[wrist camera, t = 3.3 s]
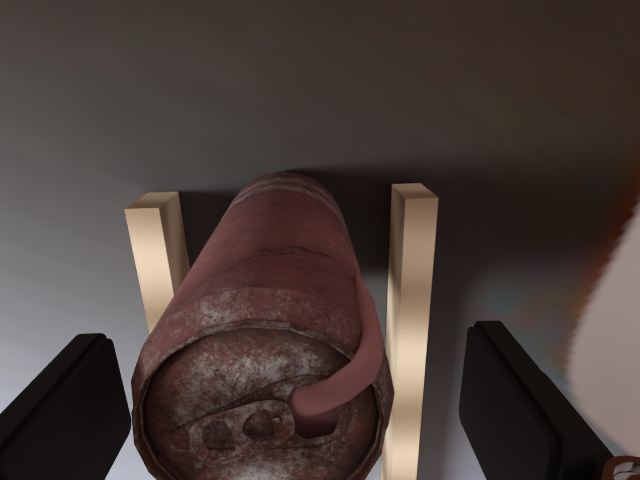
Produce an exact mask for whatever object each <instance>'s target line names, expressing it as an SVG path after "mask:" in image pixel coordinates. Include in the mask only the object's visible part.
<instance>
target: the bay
mask: <svg viewBox="0 0 640 480" xmlns="http://www.w3.org/2000/svg"><path fill="white" fill-rule="evenodd" d="M437 211H438V197H437V196H436V195H435V194H433V193H432V192H431V191H430V190H428V189H427V188H426V187H425V186H423V185H422V184H421V183H409V184H392V193H391V220H390V247H389V275H388V302H387V329H386V355H387V358H388V361H389V366H390V371H391V376H392V381H393V386H394V391H395V395H394V400H393V405H392V410H391V415H390V421H389V425H388V428H387V430H386V433H385V438H384V444H383V449H382V465H381V480H416V476H417V464H418V451H419V438H420V426H421V413H422V400H423V388H424V375H425V362H426V350H427V337H428V324H429V312H430V299H431V286H432V274H433V261H434V248H435V236H436V223H437ZM125 214H126V219H127V224H128V229H129V234H130V239H131V244H132V249H133V253H134V258H135V263H136V268H137V273H138V278H139V283H140V288H141V293H142V298H143V302H144V307H145V312H146V317H147V322H148V327H149V332H150V334H151V332H152V331H153V329H154V327H155V326H156V324H157V322H158V321H159V319H160V318H161V316H162V314H163V313H164V311H165V309H166V308H167V306H168V305H169V303H170V301H171V300H172V298H173V297H174V295H175V293H176V292H177V290H178V288H179V287H180V285H181V284H182V282H183V280H184V279H185V277H186V276H187V274H188V272H189V271H190V265H189V259H188V252H187V246H186V239H185V233H184V226H183V220H182V213H181V206H180V200H179V193H178V192H151V193H147V194H146V195H144V196H143V197H141V198H140V199H138V200H137V201H136V202H134V203H133V204H131V205H130V206H128V207H127V208H125Z"/></svg>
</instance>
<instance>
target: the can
mask: <svg viewBox="0 0 640 480" xmlns="http://www.w3.org/2000/svg"><path fill="white" fill-rule="evenodd" d="M131 386H132V398H133V410H132V425H133V436H134V445H135V447H136V448H137V450H138V452H139V454H140V456H141V458H142V460H143V462H144V464H145V466H146V468H147V470H148V472H149V473H150V474H151V475H152V476H153V477H154V478H155V479H156V480H365V479H366V477H367V476H368V474H369V472H370V471H371V469H372V468H373V466H374V464H375V463H376V461H377V460H378V458H379V457H380V455H381V453H382V449H383V444H384V438H385V433H386V430H387V428H388V425H389V421H390V415H391V410H392V405H393V400H394V395H395V391H394V386H393V381H392V376H391V371H390V366H389V361H388V358H387V355H386V351H385V348H384V340H383V336H382V332H381V328H380V324H379V320H378V316H377V312H376V308H375V304H374V300H373V298H372V296H371V295H370V293H369V291H368V289H367V288H366V286H365V284H364V281H363V278H362V275H361V272H360V268H359V265H358V262H357V259H356V256H355V252H354V249H353V246H352V243H351V240H350V236H349V233H348V230H347V227H346V224H345V221H344V217H343V214H342V211H341V208H340V206H339V205H338V203H337V201H336V200H335V198H334V196H333V195H332V193H331V192H330V191H329V190H328V189H326V188H325V187H324V186H323V185H322V184H321V183H319V182H318V181H317V180H315V179H312V178H310V177H307V176H305V175H303V174H300V173H292V172H276V173H271V174H267V175H263V176H260V177H258V178H257V179H255V180H254V181H252V182H250V183H249V184H247V185H245V186H244V188H243V189H242V190H241V191H240V192H239V194H238V195H237V196H236V197H235V198H234V200H233V201H232V203H231V204H230V206H229V208H228V209H227V211H226V212H225V214H224V216H223V217H222V219H221V221H220V222H219V224H218V225H217V227H216V229H215V230H214V232H213V233H212V235H211V237H210V238H209V240H208V242H207V243H206V245H205V246H204V248H203V250H202V251H201V253H200V255H199V256H198V258H197V259H196V261H195V263H194V264H193V266H192V267H191V269H190V271H189V272H188V274H187V276H186V277H185V279H184V280H183V282H182V284H181V285H180V287H179V288H178V290H177V292H176V293H175V295H174V297H173V298H172V300H171V301H170V303H169V305H168V306H167V308H166V309H165V311H164V313H163V314H162V316H161V318H160V319H159V321H158V322H157V324H156V326H155V327H154V329H153V331H152V332H151V334H150V335H149V337H148V339H147V340H146V342H145V343H144V345H143V347H142V349H141V352H140V355H139V358H138V361H137V364H136V367H135V370H134V373H133V376H132V379H131Z"/></svg>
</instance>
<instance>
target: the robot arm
mask: <svg viewBox="0 0 640 480" xmlns="http://www.w3.org/2000/svg"><path fill="white" fill-rule="evenodd" d="M459 416H460V421H461V424H462V426H463V428H464V430H465V433H466V435H467V437H468V439H469V442H470V444H471V446H472V448H473V450H474V453H475V455H476V457H477V459H478V462H479V464H480V466H481V468H482V471H483V473H484V475H485V477H486V479H487V480H640V457H634V456H627V455H624V456H615V457H614V456H613V455H612V453H611V452H610V451H609V450H608V449H607V447H606V446H605V445H604V444H603V443H602V441H601V440H600V439H599V438H598V437H597V435H596V434H595V433H594V432H593V430H592V429H591V428H590V427H589V426H588V424H587V423H586V422H585V421H584V420H583V418H582V417H581V416H580V415H579V414H578V412H577V411H576V410H575V409H574V407H573V406H572V405H571V404H570V403H569V401H568V400H567V399H566V398H565V397H564V395H563V394H562V393H561V392H560V391H559V389H558V388H557V387H556V386H555V384H554V383H553V382H552V381H551V380H550V378H549V377H548V376H547V375H546V374H545V373H544V372H542V371H541V370H540V369H539V367H538V366H537V365H536V364H535V363H534V361H533V360H532V359H531V358H530V356H529V355H528V354H527V353H526V352H525V350H524V349H523V348H522V347H521V345H520V344H519V343H518V342H517V341H516V339H515V338H514V337H513V336H512V334H511V333H510V332H509V331H508V330H507V328H506V327H505V326H504V325H503V323H502V322H500V321H477V322H476V323H475V325H474V327H469V329H468V332H467V341H466V350H465V358H464V367H463V376H462V385H461V394H460V402H459ZM130 429H131V416H130V412H129V408H128V403H127V399H126V395H125V391H124V386H123V382H122V378H121V374H120V370H119V365H118V361H117V357H116V353H115V348H114V344H113V341H112V340H111V339H107V338H106V336H105V335H104V334H102V333H92V334H78V335H77V336H76V337H75V338H74V339H73V340H72V341H71V342H70V343H69V344H68V345H67V346H66V347H65V348H64V349H63V350H62V351H61V352H60V353H59V354H58V355H57V356H56V357H55V358H54V359H53V360H52V361H51V362H50V363H49V364H48V365H47V366H46V367H45V368H44V369H43V371H42V372H41V373H40V374H39V375H38V376H37V377H36V378H35V379H34V380H33V381H32V382H31V383H30V384H29V385H28V386H27V387H26V388H25V389H24V390H23V391H22V392H21V393H20V394H19V395H18V396H17V397H16V398H15V399H14V400H13V401H12V402H11V403H10V405H9V406H8V407H7V408H6V409H5V410H4V411H3V412H2V413H1V414H0V480H105V478H106V476H107V474H108V472H109V470H110V469H111V467H112V465H113V463H114V461H115V459H116V457H117V455H118V454H119V452H120V450H121V448H122V446H123V444H124V442H125V441H126V439H127V437H128V435H129V433H130Z"/></svg>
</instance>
